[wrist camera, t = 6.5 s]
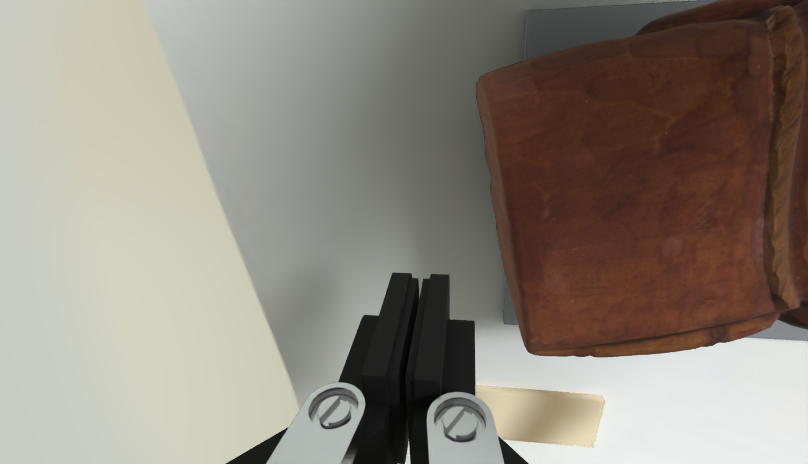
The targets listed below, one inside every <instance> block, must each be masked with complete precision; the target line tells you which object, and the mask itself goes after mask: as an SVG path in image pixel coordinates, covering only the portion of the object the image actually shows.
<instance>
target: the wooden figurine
mask: <svg viewBox="0 0 808 464" xmlns="http://www.w3.org/2000/svg"><path fill="white" fill-rule="evenodd" d="M476 98H477V103H478V108H479V113H480V118H481V122H482V126H483V132H484V137H485V156H486V160H487V163H488V167H489V170H490V175H491V185H490V188H491V196H492V201H493V207H494V212H495V217H496V229H497V235H498V241H499V246H500V250H501V255H502V260H503V265H504V270H505V275H506V279H507V283H508V286H509V291H510V295H511V299H512V303H513V307H514V310H515V314H516V318H517V321H518V325H519V328H520V332H521V336H522V339H523V342H524V345H525V348H526V349H527V351H528V352H529V353H531V354H533V355H539V356H577V357H585V356H589V355H590V356H593V357H618V356H632V355H648V354H659V353H668V352H676V351H683V350H690V349H696V348H699V347H708V346H713V345H715V344H716V343H719V342H721V343H726V342H730V341H734V340H737V339H741V338H744V337H747V336H750V335H753V334H756V333H758V332H761V331H763V330H765V329H768V328H770V327H771V326H772V325H773V323H774V322H775V321H776V320H779V321H782V322H784V323H786V324H789V325H791V326H795V327H799V328H803V329H807V330H808V0H718V1H715V2H712V3H709V4H705V5H702V6H699V7H695V8H692V9H688V10H683V11H679V12H675V13H672V14H669V15H665V16H662V17H660V18H657V19H655V20H653V21H651V22H649V23H648V24H646V25H645V26H644V27H642V28H641V29H640V30H639V31H638V32H637V33H636V34H635V35H634V36H631V37H625V38H619V39H612V40H605V41H600V42H594V43H588V44H583V45H580V46H576V47H572V48H568V49H564V50H560V51H556V52H552V53H548V54H544V55H541V56H538V57H534V58H530V59H527V60H525V61H522V62H519V63H516V64H513V65H510V66H507V67H503V68H500V69H497V70H495V71H492V72H489V73H486V74H485V75H483V76H481V77H480V78H479V80H478V81H477V82H476Z"/></svg>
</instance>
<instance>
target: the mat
mask: <svg viewBox="0 0 808 464" xmlns="http://www.w3.org/2000/svg"><path fill="white" fill-rule="evenodd" d="M715 1H718V0H697V1H680V2H663V3H647V4H630V5H613V6H596V7H579V8H563V9H546V10H529V11H527V13H526V26H525V39H524V52H523V61H525V60H527V59H530V58H534V57H538V56H541V55H544V54H548V53H552V52H556V51H560V50H564V49H568V48H572V47H576V46H580V45H583V44H588V43H594V42H600V41H605V40H612V39H619V38H625V37H631V36H634V35H635V34H636V33H637V32H638V31H639V30H640V29H641V28H642V27H644V26H645V25H646V24H648V23H649V22H651V21H653V20H655V19H657V18H660V17H662V16H665V15H669V14H672V13H675V12H679V11H683V10H688V9H692V8H695V7H699V6H702V5H705V4H709V3H712V2H715ZM503 320H504V324H511V325H518V321H517V318H516V314H515V310H514V307H513V303H512V299H511V295H510V291H509V286H508V283H507V279H506V288H505V301H504V314H503ZM747 337H749V338H767V339H785V340H803V341H808V330H807V329H803V328H799V327H795V326H791V325H789V324H786V323H784V322H782V321H779V320H776V321H775V322H774V323H773V325H772V326H771V327H770V328H768V329H765V330H763V331H761V332H758V333H756V334H753V335H750V336H747Z"/></svg>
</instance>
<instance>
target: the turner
mask: <svg viewBox="0 0 808 464" xmlns="http://www.w3.org/2000/svg"><path fill="white" fill-rule="evenodd" d="M475 396H476V397H478V398H479V399H481V400H482V401H484V402H485V404H486V405H487V406H488V407H489V408H490V410H491V413H492V415H493V417H494V422H495V426H496V430H497V435H498V436H499V437H500V438H501V439H503V440H514V441H526V442H537V443H548V444H560V445H571V446H583V447H594V444H595V440H596V436H597V432H598V428H599V424H600V420H601V416H602V412H603V408H604V404H605V400H604V398H603V395H595V394H582V393H569V392H556V391H543V390H531V389H518V388H505V387H492V386H479V385H475Z"/></svg>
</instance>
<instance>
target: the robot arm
mask: <svg viewBox="0 0 808 464" xmlns="http://www.w3.org/2000/svg"><path fill="white" fill-rule="evenodd" d="M408 441H409V445H410V460H411V464H528V463H527V462H526V461H525V460H524V459H523V458H522V457H521V456H520V455H519V454H517V453H516V452H515V451H514V450H513V449H512V448H511V447H510V446H509V445H508V444H507V443H506V442H504V441H503V440H502V439H501V438H500V437H499V436H498V435H497V430H496V426H495V422H494V417H493V415H492V413H491V410H490V408H489V407H488V406H487V405H486V404H485V402H484V401H482V400H481V399H479V398H478V397H476V396H475V322H474V321H467V320H449V275H444V274H431V275H430V279H423V283H422V289H421V294H420V299H419V281H418V278H412V274H411V273H392V276H391V279H390V282H389V285H388V289H387V292H386V295H385V298H384V301H383V304H382V308H381V311H380V314H379V316H375V315H364V316H363V317H362V320H361V322H360V325H359V328H358V330H357V333H356V336H355V338H354V341H353V344H352V347H351V349H350V352H349V355H348V357H347V360H346V363H345V366H344V368H343V371H342V374H341V376H340V379H339V382H336V383H331V384H327V385H324V386H322V387H320V388H318V389H317V390H315V391H314V392H313V393H311V394H310V396H309V397H308V398H307V399H306V400H305V402H304V404H303V405H302V407H301V408H300V410H299V412H298V413H297V415H296V417H295V418H294V420H293V421H292V423H291V425H290V426H289V427H288V428H286V429H285V430H283V431H281V432H279V433H278V434H276V435H274V436H272V437H271V438H269V439H267V440H266V441H264V442H262V443H260V444H259V445H257V446H255V447H254V448H252V449H250V450H248V451H247V452H245V453H243V454H242V455H240V456H238V457H236V458H235V459H233V460H231V461H230V462H228V463H226V464H397V463H398V464H405V461H406V455H407V448H408Z"/></svg>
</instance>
